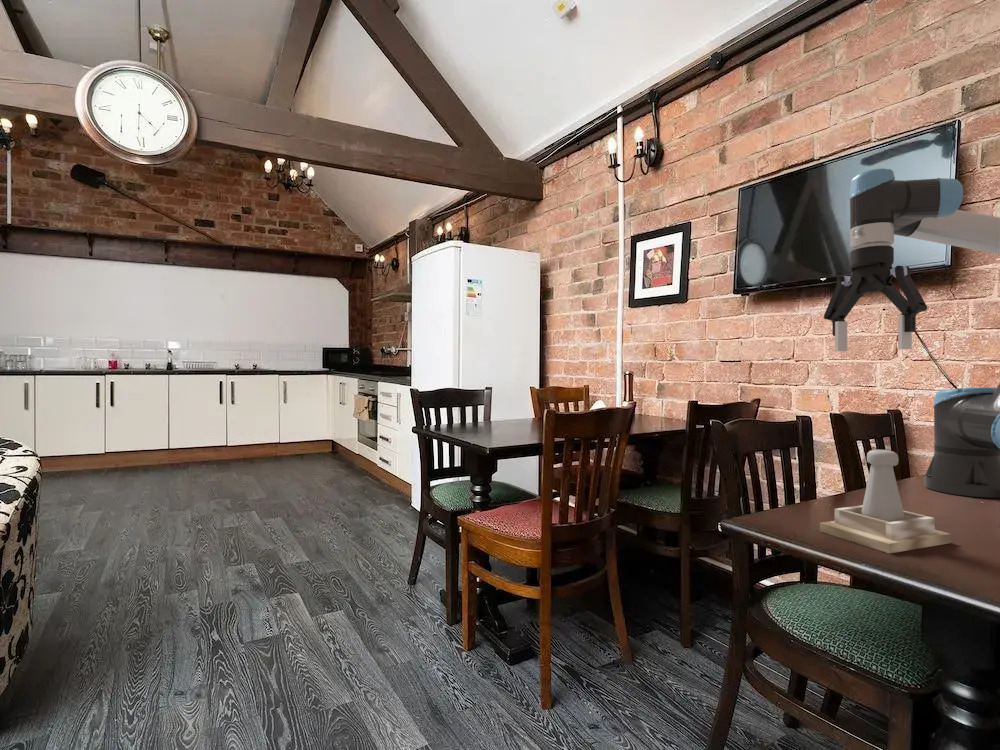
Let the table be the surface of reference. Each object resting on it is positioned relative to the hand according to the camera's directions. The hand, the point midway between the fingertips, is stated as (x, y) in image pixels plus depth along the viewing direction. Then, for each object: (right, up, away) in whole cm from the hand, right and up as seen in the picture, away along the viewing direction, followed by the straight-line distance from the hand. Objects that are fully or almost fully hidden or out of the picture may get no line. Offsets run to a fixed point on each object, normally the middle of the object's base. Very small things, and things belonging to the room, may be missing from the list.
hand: (871, 350), depth 113 cm
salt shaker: (-13, -31, -22) cm, 40 cm away
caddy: (-13, -32, -22) cm, 41 cm away
